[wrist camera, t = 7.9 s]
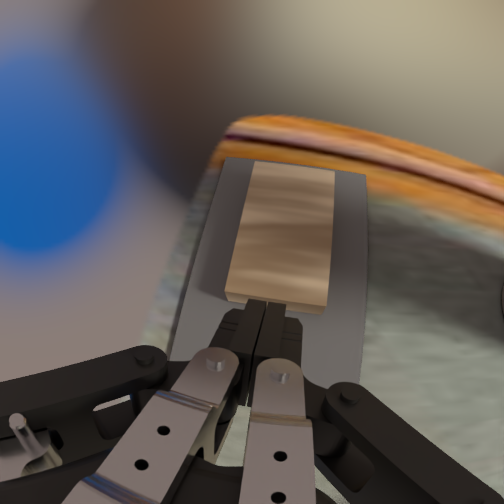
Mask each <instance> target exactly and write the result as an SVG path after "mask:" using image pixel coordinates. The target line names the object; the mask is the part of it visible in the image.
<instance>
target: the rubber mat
mask: <svg viewBox="0 0 504 504" xmlns="http://www.w3.org/2000/svg"><path fill="white" fill-rule="evenodd" d="M255 161H259V162H268V163H277V164H286V165H294V166H302V167H309V168H316V169H323V170H330V171H335V185H334V212H333V231H332V247H331V261H330V274H329V285H328V296H327V306H326V308H325V309H324V311H323V313H322V314H321V315H319V314H311V313H304V312H297V311H290V310H286V312H285V317H292V318H298V319H299V321H300V322H301V324H302V325H303V335H302V336H303V338H302V357H301V369H302V372H303V375H304V376H305V378H307V379H308V380H309V381H310V382H312V383H314V384H315V385H318V386H321V387H323V388H326V389H328V388H329V387H330V386H331V385H333V384H335V383H338V382H352V383H356V384H358V385H359V380H360V372H361V363H362V353H363V342H364V330H365V316H366V298H367V271H368V215H367V187H366V175H363V174H358V173H352V172H346V171H340V170H334V169H327V168H320V167H313V166H306V165H298V164H291V163H282V162H274V161H264V160H255V159H244V158H233V157H226V159H225V162H224V165H223V169H222V172H221V175H220V178H219V181H218V184H217V187H216V191H215V194H214V197H213V200H212V204H211V207H210V210H209V214H208V217H207V220H206V224H205V227H204V230H203V234H202V237H201V241H200V244H199V248H198V251H197V255H196V258H195V262H194V266H193V269H192V273H191V276H190V280H189V284H188V288H187V291H186V295H185V299H184V303H183V307H182V311H181V314H180V318H179V322H178V326H177V330H176V334H175V339H174V343H173V347H172V351H171V355H170V360H169V361H189V360H191V359H192V358H193V357H194V355H195V354H196V353H197V352H198V351H200V350H202V349H205V348H208V346H209V344H210V342H211V340H212V338H213V336H214V334H215V332H216V330H217V328H218V326H219V324H220V322H221V320H222V318H223V316H224V314H225V313H226V312H228V311H230V310H231V309H233V308H236V309H242V310H244V308H245V306H246V304H244V303H238V302H232V301H228V299H227V297H226V294H225V286H226V282H227V277H228V273H229V268H230V264H231V260H232V255H233V251H234V247H235V242H236V238H237V234H238V230H239V225H240V221H241V217H242V213H243V208H244V204H245V200H246V196H247V192H248V188H249V183H250V179H251V175H252V171H253V167H254V163H255ZM266 308H267V307H266Z"/></svg>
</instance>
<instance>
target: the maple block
mask: <svg viewBox="0 0 504 504" xmlns="http://www.w3.org/2000/svg"><path fill="white" fill-rule="evenodd" d="M334 185H335V171H330V170H323V169H316V168H309V167H302V166H294V165H286V164H277V163H268V162H259V161H255V163H254V167H253V171H252V175H251V179H250V183H249V188H248V192H247V196H246V200H245V204H244V208H243V213H242V217H241V221H240V225H239V230H238V234H237V238H236V242H235V247H234V251H233V255H232V260H231V264H230V268H229V273H228V277H227V282H226V286H225V294H226V297H227V299H228V301H232V302H238V303H244V304H246V303H247V301H248V299H249V298H250V299H256V300H262V301H267V305H268V301H269V302H276V303H282V304H286V310H290V311H297V312H304V313H311V314H319V315H321V314H322V313H323V311H324V309H325V308H326V306H327V296H328V285H329V274H330V261H331V247H332V231H333V212H334Z"/></svg>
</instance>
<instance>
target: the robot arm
mask: <svg viewBox="0 0 504 504" xmlns="http://www.w3.org/2000/svg"><path fill="white" fill-rule="evenodd" d="M266 307H267V308H266ZM502 307H503V314H504V284H503V290H502ZM285 312H286V304H282V303H276V302H269V301H268V305H267V301H262V300H256V299H250V298H249V299H248V301H247V303H246V306H245V308H244V310H242V309H236V308H233V309H231V310H230V311H228V312H226V313H225V314H224V316H223V318H222V320H221V322H220V324H219V326H218V328H217V330H216V332H215V334H214V336H213V338H212V340H211V342H210V344H209V346H208V348H205V349H202V350H200V351H198V352H197V353H196V354H195V355H194V357H193V358H192V359H191V360H189V361H167V356H166V354H165V353H164V352H163V351H162V350H161V349H159V348H157V347H154V346H149V345H141V346H136V347H132V348H129V349H126V350H123V351H119V352H116V353H112V354H109V355H105V356H102V357H98V358H95V359H91V360H87V361H84V362H80V363H77V364H73V365H69V366H65V367H61V368H58V369H54V370H50V371H46V372H42V373H38V374H34V375H29V376H25V377H21V378H17V379H12V380H8V381H3V382H0V504H336V503H335V501H333V500H332V499H331V498H330V497H329V496H328V495H326V494H325V493H323V492H322V491H320V490H319V489H317V488H315V468H314V465H315V466H316V467H317V469H318V470H319V471H320V472H321V473H322V474H323V475H324V476H325V477H326V479H327V480H328V481H329V482H330V483H331V484H332V485H333V486H334V487H335V488H336V489H337V490H338V491H339V492H340V494H341V495H342V496H343V497H344V498H345V499H346V500H347V501H348V502H349V503H350V504H504V499H503V498H502V496H501V495H500V494H499V493H497V492H496V491H495V490H493V489H492V488H490V487H489V486H488V485H486V484H485V483H484V482H482V481H481V480H480V479H478V478H477V477H476V476H474V475H473V474H472V473H470V472H469V471H468V470H467V469H465V468H464V467H463V466H461V465H460V464H459V463H457V462H456V461H455V460H454V459H452V458H451V457H450V456H448V455H447V454H446V453H444V452H443V451H442V450H441V449H439V448H438V447H437V446H436V445H434V444H433V443H432V442H430V441H429V440H428V439H427V438H425V437H424V436H423V435H422V434H420V433H419V432H418V431H417V430H415V429H414V428H413V427H412V426H410V425H409V424H408V423H407V422H405V421H404V420H403V419H402V418H401V417H399V416H398V415H397V414H396V413H394V412H393V411H392V410H391V409H389V408H388V407H387V406H386V405H385V404H383V403H382V402H381V401H380V400H379V399H377V398H376V397H375V396H374V395H372V394H371V393H370V392H369V391H368V390H366V389H365V388H364V387H362V386H361V385H358V384H356V383H352V382H338V383H335V384H333V385H331V386H330V387H329V388H328V389H326V388H323V387H321V386H318V385H315V384H314V383H312V382H310V381H309V380H308V379H307V378H305V376H304V375H303V372H302V369H301V357H302V338H303V336H302V335H303V325H302V324H301V322H300V321H299V319H298V318H292V317H285ZM248 393H249V396H248ZM126 395H130V400H128V401H125V402H122V403H119V404H116V405H113V406H110V407H107V408H104V409H101V410H98V411H93V409H94V408H95V407H96V406H97V405H99V404H102V403H105V402H109V401H112V400H115V399H118V398H121V397H124V396H126ZM247 397H248V403H247V406H248V407H251V412H250V418H249V424H248V431H247V438H246V446H245V453H244V459H243V466H241V467H225V466H217V465H215V463H216V461H217V458H218V456H219V454H220V451H221V449H222V447H223V444H224V442H225V440H226V437H227V435H228V432H229V430H230V428H231V425H232V423H233V417H234V415H235V413H236V410H237V407H238V405H242V406H245V404H246V401H247Z"/></svg>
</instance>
